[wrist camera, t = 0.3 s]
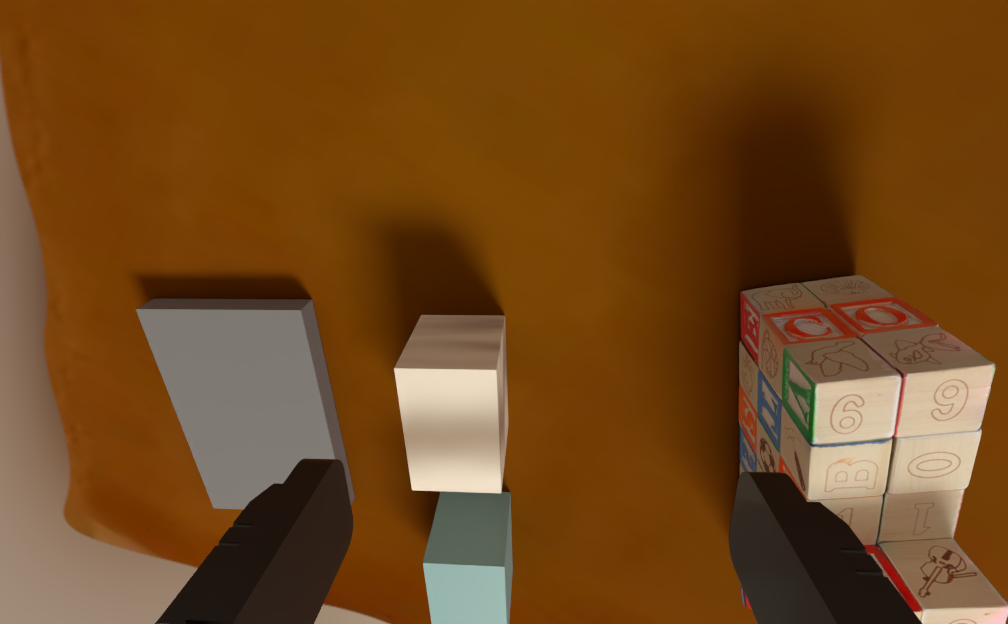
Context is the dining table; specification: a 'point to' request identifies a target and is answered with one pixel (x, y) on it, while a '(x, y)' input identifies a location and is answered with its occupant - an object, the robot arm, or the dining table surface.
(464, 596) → the teal brick
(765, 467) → the stack of blocks
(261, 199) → the dining table surface
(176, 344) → the baseplate
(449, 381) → the cream brick
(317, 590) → the robot arm
